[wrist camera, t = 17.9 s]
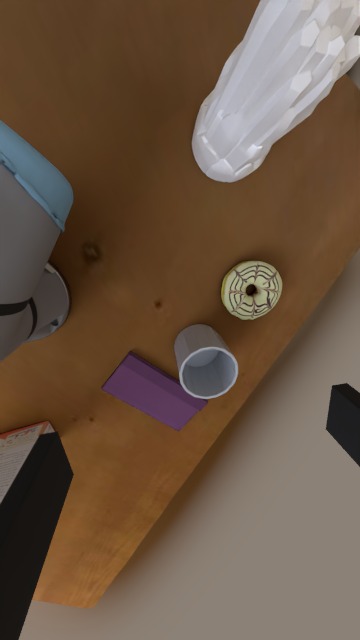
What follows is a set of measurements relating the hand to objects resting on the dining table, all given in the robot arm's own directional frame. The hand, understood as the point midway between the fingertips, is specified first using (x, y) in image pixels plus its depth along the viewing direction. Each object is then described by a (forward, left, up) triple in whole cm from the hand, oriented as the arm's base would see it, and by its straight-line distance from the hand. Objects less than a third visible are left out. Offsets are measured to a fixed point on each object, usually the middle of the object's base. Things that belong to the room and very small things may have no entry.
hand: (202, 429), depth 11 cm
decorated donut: (+15, -2, -33) cm, 36 cm away
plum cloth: (-5, -22, -33) cm, 40 cm away
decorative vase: (+12, +21, -33) cm, 41 cm away
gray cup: (+5, -12, -33) cm, 35 cm away
